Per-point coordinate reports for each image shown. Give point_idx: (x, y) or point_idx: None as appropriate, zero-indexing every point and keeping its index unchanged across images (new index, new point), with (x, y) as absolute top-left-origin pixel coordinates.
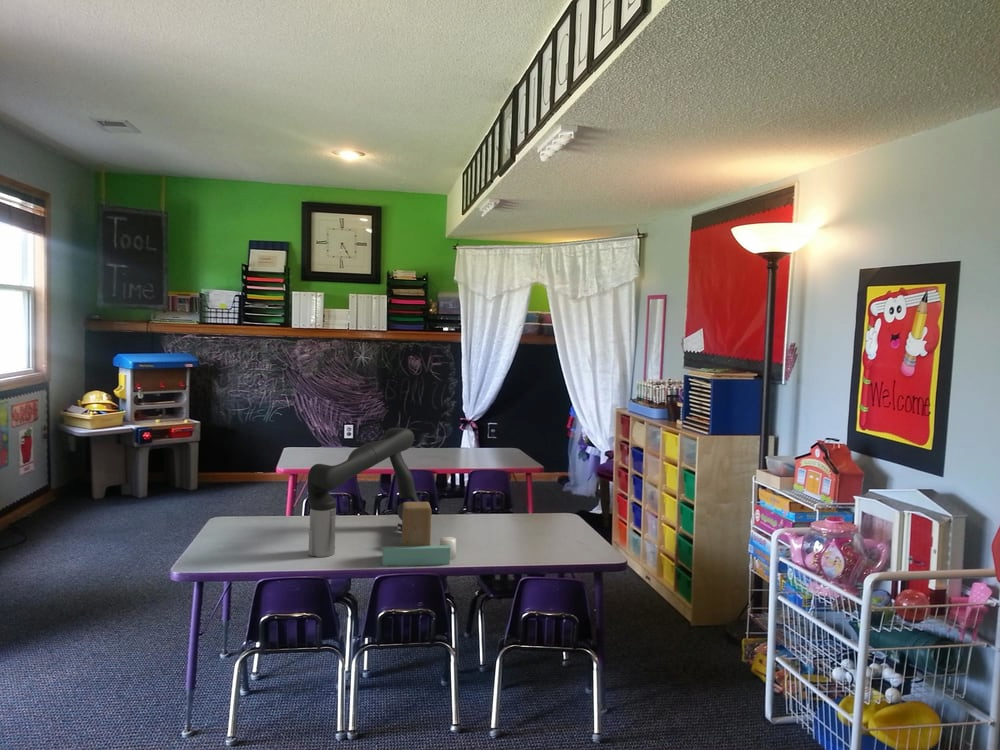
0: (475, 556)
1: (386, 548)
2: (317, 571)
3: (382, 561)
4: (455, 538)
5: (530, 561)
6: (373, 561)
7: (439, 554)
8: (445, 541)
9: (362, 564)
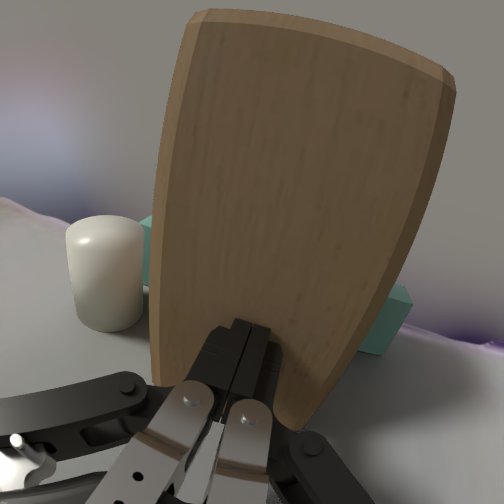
0: (33, 270)
1: (395, 288)
2: (493, 343)
3: (384, 348)
4: (72, 224)
5: (4, 211)
6: (412, 377)
7: None
8: (138, 223)
9: (434, 360)
